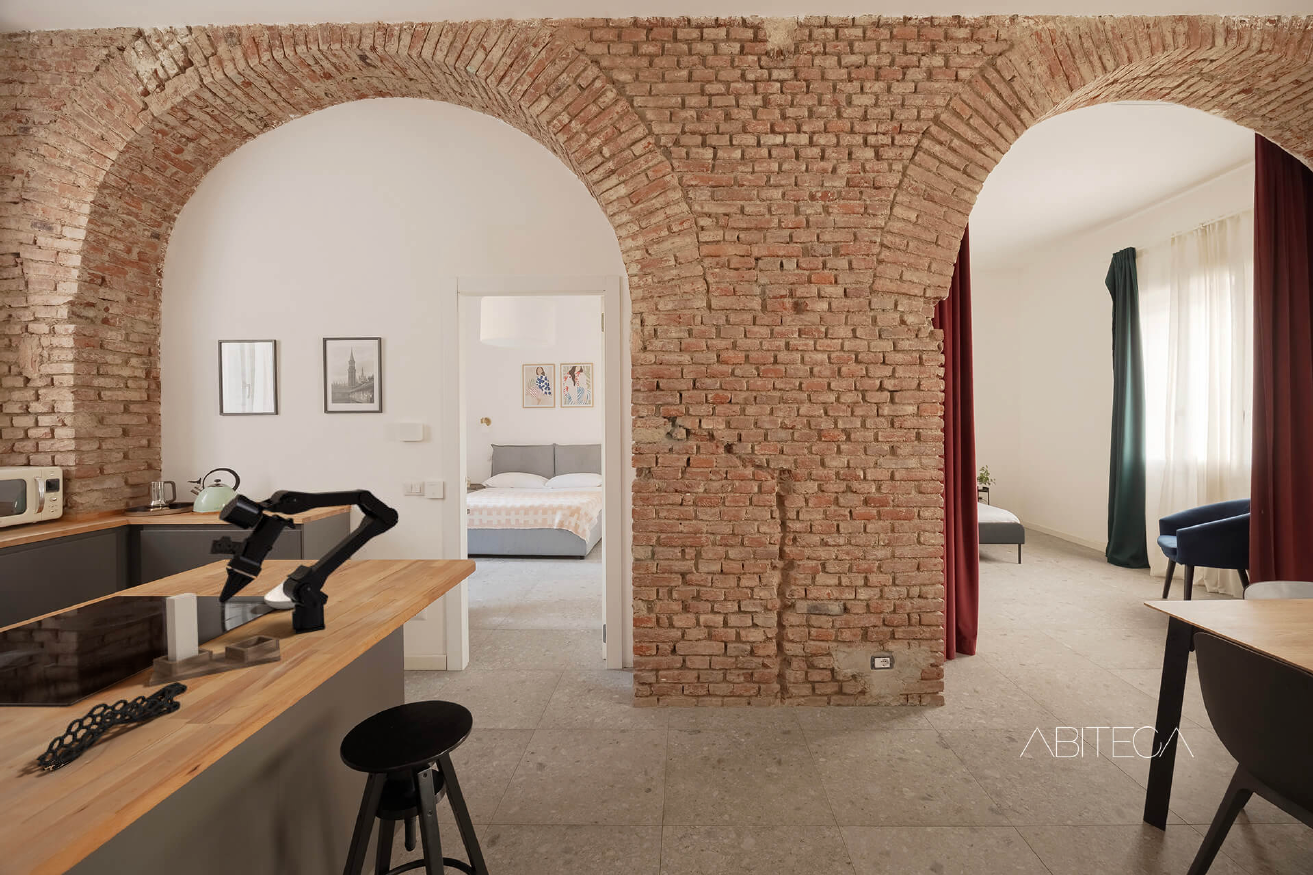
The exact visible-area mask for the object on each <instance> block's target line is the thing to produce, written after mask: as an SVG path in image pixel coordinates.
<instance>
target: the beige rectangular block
mask: <svg viewBox="0 0 1313 875" xmlns="http://www.w3.org/2000/svg"><path fill="white" fill-rule="evenodd" d="M165 600H166V601H165V604H166V607H165V608H166V627H167V628H166V632H167V655H168V661H172V662H176V661H179V660H182V659H185V658H188V657H192V656H195V655H198V648H199V639H198V638H199V636H198V635H199V634H198V608H197V607H198V606H197V593H194V592H185V593H180V594H176V595H172V596H171V595H170V596H168V597H167V596H166V598H165Z"/></svg>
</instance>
